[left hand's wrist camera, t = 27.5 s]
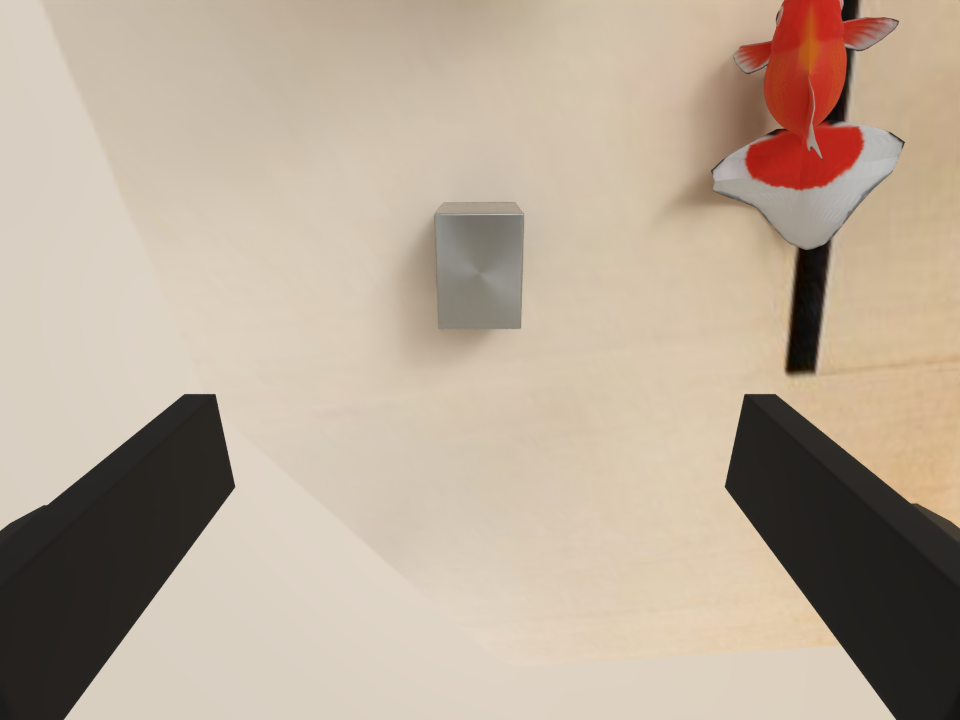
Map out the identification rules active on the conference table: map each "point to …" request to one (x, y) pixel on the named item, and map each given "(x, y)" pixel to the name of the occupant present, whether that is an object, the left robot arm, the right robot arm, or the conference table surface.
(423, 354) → the conference table surface
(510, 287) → the block
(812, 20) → the fish
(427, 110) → the conference table surface
